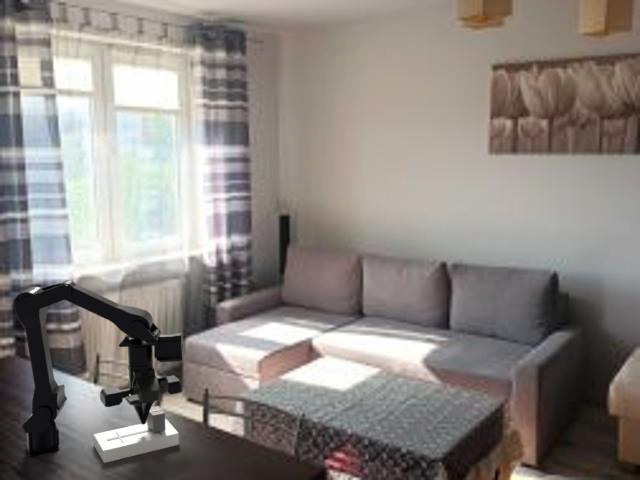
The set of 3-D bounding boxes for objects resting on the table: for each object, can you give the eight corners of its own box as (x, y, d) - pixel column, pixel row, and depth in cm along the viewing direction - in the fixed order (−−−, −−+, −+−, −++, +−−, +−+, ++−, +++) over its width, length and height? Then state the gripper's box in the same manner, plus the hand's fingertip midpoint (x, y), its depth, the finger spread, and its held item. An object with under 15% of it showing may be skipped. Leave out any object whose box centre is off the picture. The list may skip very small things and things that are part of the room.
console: (103, 462, 148) (103, 450, 147) (94, 445, 156) (93, 433, 156) (178, 444, 157) (178, 432, 157) (165, 429, 166) (165, 417, 165)
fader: (153, 433, 156) (152, 415, 155) (147, 425, 160) (146, 408, 160) (165, 430, 158) (165, 412, 157) (159, 422, 162) (158, 405, 161)
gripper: (109, 380, 143) (112, 445, 145) (189, 365, 153) (191, 427, 155) (98, 365, 152) (101, 427, 155) (173, 353, 162) (175, 411, 164)
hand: (143, 423), depth 157 cm, fingers closed
